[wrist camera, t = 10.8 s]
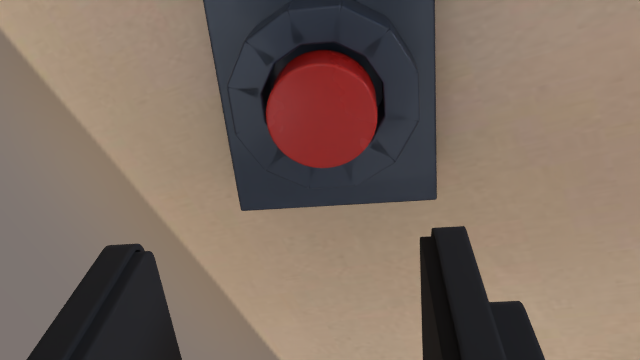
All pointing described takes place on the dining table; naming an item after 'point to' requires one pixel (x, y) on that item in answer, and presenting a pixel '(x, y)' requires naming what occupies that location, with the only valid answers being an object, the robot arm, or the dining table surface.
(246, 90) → the button box
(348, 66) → the button
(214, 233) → the dining table surface
